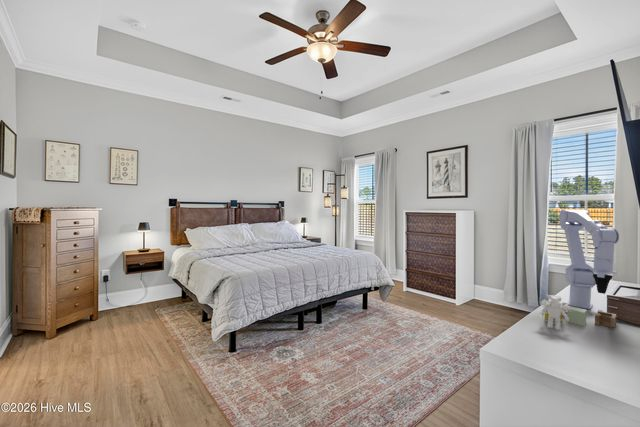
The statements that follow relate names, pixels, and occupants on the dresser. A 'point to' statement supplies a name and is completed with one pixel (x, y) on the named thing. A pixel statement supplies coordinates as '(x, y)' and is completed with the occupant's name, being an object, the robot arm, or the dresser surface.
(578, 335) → the dresser surface
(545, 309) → the blocky character figurine
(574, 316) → the sage block
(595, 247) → the robot arm
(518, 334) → the dresser surface
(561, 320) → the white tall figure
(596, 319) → the walnut channel
